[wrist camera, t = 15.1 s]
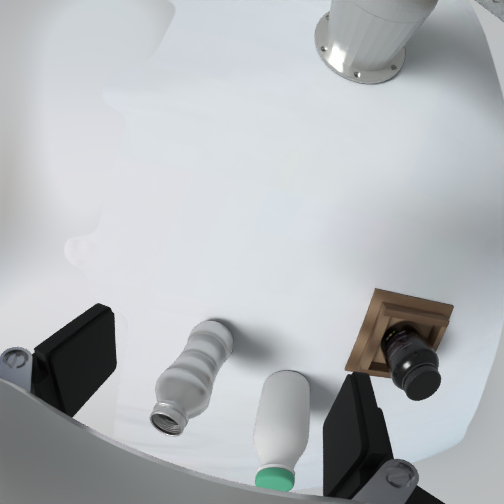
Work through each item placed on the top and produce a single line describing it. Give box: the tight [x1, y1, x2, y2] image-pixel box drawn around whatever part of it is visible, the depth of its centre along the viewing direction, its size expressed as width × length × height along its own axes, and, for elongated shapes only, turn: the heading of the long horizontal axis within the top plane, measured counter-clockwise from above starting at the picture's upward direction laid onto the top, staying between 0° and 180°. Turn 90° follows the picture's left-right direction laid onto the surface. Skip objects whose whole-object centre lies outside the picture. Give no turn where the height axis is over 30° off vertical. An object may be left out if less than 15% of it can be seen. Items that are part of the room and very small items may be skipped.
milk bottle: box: [253, 371, 310, 492], centre depth 36 cm, size 8×8×20 cm
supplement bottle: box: [380, 321, 441, 401], centre depth 34 cm, size 7×7×12 cm
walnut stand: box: [345, 288, 454, 378], centre depth 39 cm, size 14×14×3 cm
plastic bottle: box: [150, 321, 233, 436], centre depth 35 cm, size 6×7×20 cm
